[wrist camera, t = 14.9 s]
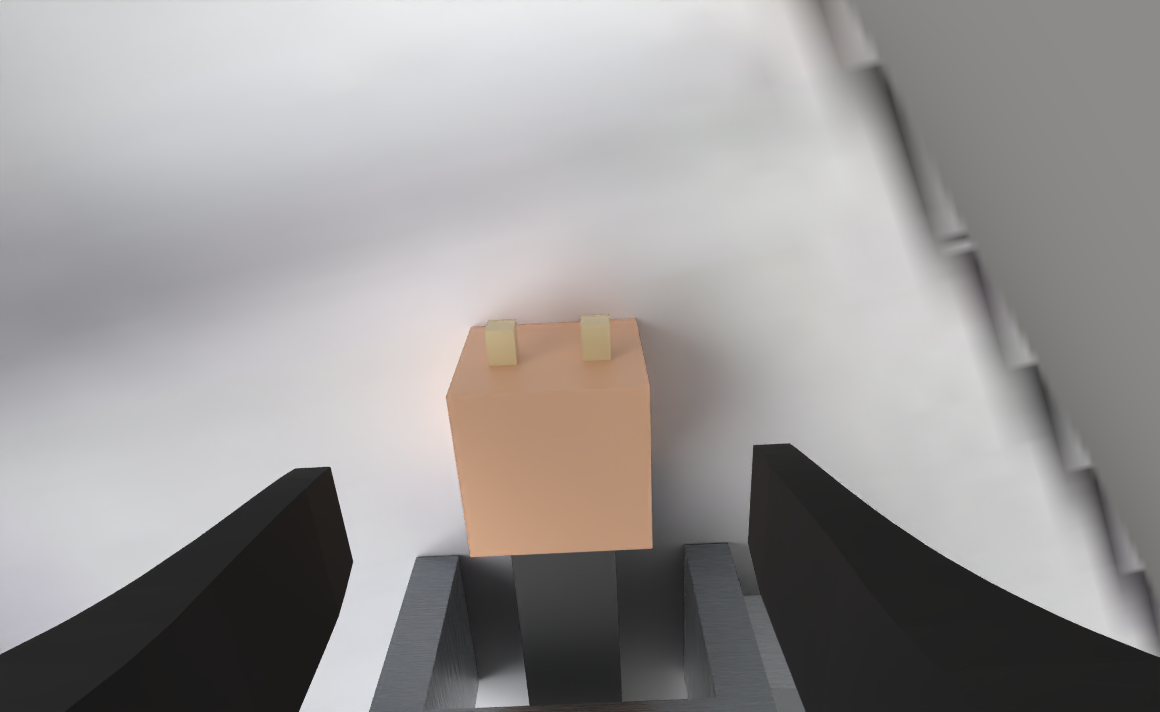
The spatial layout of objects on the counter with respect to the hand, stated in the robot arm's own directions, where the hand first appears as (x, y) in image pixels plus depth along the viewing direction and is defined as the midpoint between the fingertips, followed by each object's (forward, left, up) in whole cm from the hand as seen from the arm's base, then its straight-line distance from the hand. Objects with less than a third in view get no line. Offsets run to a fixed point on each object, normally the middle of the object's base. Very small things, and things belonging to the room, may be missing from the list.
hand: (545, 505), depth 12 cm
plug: (-7, 0, -6) cm, 9 cm away
